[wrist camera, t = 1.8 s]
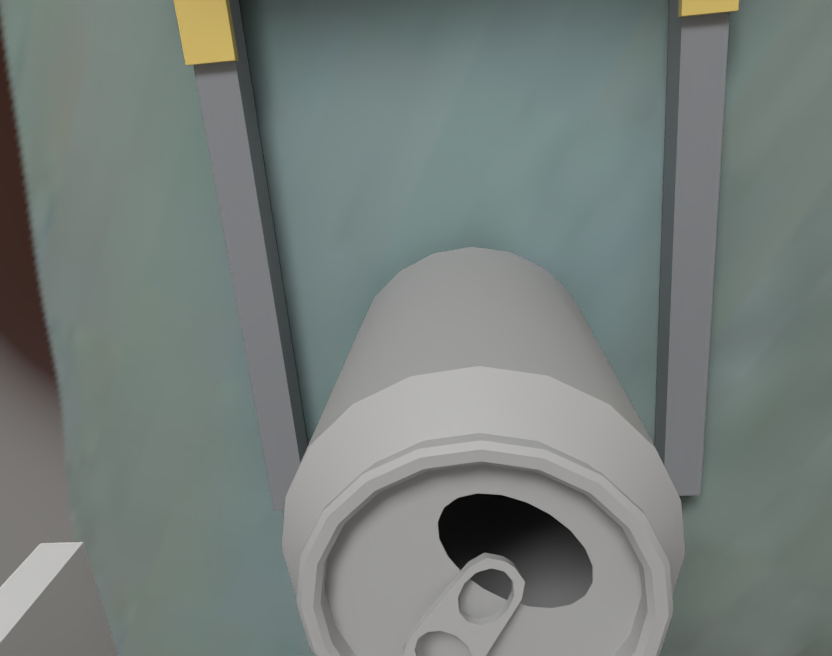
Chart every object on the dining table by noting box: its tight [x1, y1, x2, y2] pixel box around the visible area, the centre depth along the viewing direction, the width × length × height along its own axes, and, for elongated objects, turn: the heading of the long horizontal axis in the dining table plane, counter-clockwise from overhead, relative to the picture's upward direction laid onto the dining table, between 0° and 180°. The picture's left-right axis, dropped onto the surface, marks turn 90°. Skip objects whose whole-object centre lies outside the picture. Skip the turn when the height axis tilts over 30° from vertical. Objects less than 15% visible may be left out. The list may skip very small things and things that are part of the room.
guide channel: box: [174, 0, 739, 510], centre depth 17 cm, size 24×15×6 cm, turn 5°
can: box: [282, 247, 685, 656], centre depth 17 cm, size 8×8×12 cm
